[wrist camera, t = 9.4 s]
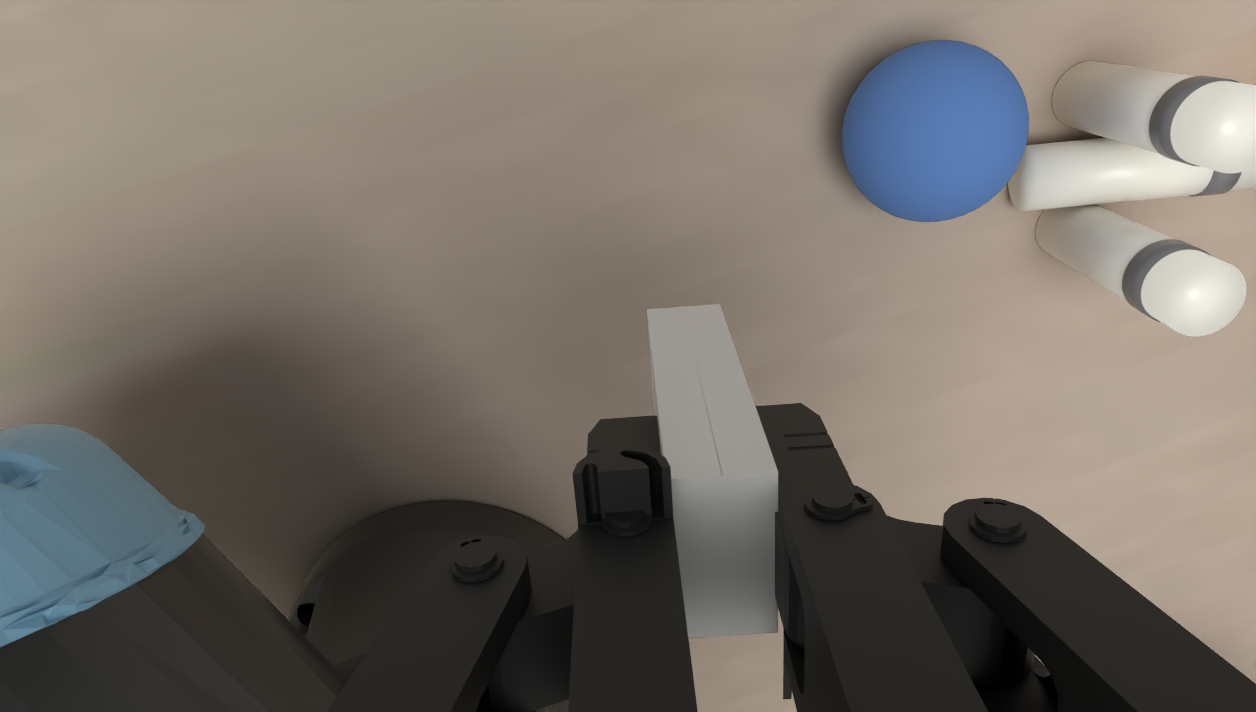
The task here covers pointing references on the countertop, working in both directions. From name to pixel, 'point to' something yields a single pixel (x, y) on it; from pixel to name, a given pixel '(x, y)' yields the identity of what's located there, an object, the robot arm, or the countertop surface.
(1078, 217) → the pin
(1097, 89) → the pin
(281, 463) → the countertop surface
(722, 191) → the countertop surface
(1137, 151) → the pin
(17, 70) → the countertop surface
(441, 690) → the robot arm
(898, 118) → the ball
